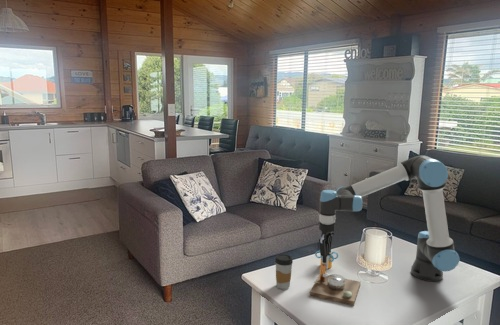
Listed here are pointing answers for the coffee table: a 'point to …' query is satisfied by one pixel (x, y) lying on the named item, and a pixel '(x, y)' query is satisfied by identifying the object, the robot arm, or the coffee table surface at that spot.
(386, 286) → the coffee table surface
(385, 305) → the coffee table surface
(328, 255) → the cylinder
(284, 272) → the coffee cup
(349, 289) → the base
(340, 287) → the knob
